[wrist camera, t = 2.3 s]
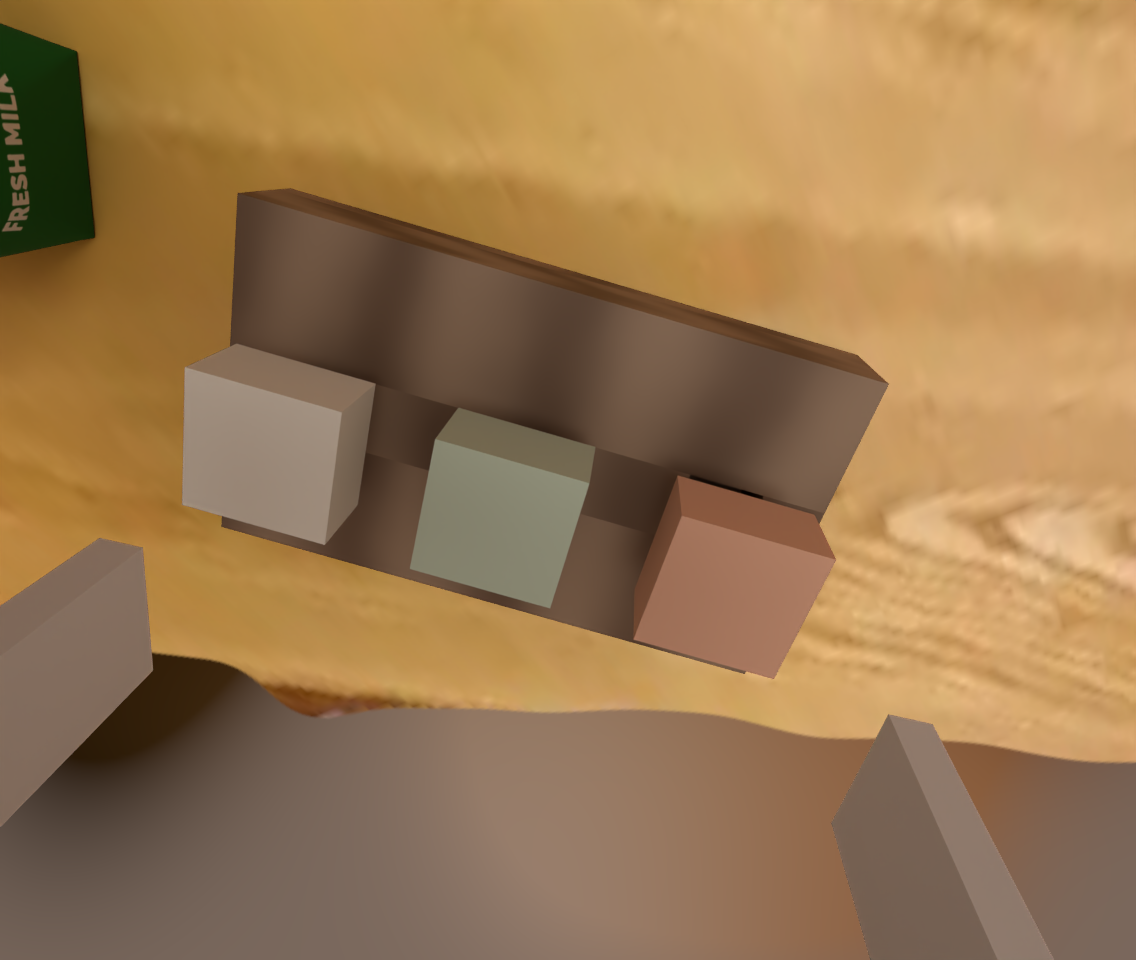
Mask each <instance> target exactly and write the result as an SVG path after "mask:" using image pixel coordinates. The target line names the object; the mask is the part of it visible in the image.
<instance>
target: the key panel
mask: <svg viewBox="0 0 1136 960" xmlns="http://www.w3.org/2000/svg"><path fill="white" fill-rule="evenodd" d="M235 344H240V345H243V346H247V347H250V348H254V349H257V350H260V351H264V352H267V353H271V354H274V355H278V356H281V357H285V358H288V359H292V360H295V361H299V362H302V363H306V364H309V365H313V366H316V367H319V368H323V369H326V370H330V371H333V372H337V373H340V374H344V375H347V376H351V377H354V378H358V379H361V380H365V381H368V382H372V383H375V384H376V385H375V392H374V399H373V405H372V412H371V419H370V426H369V432H368V439H367V446H366V452H365V459H364V466H363V473H362V479H361V486H360V493H359V500H358V505H357V506H356V508H355V509H354V510H353V511H352V513H351V514H350V515H349V516H348V517H347V519H346V520H345V521H344V522H343V524H342V525H341V526H340V527H339V528H338V530H337V531H336V532H335V533H334V534H333V536H332V537H331V538H330V539H329V541H328V542H327V543H326V544H325V545H323V544H320V543H316V542H312V541H309V540H305V539H302V538H298V537H295V536H291V535H288V534H284V533H281V532H277V531H273V530H270V529H266V528H263V527H259V526H256V525H252V524H249V523H245V522H242V521H238V520H234V519H231V518H227V517H224V516H222V525H221V527H224V528H228V529H231V530H235V531H238V532H242V533H246V534H249V535H253V536H256V537H260V538H263V539H267V540H270V541H274V542H278V543H281V544H285V545H288V546H292V547H295V548H299V549H302V550H306V551H310V552H313V553H317V554H320V555H324V556H327V557H331V558H334V559H338V560H342V561H345V562H349V563H352V564H356V565H359V566H363V567H366V568H370V569H373V570H377V571H381V572H384V573H388V574H391V575H395V576H398V577H402V578H405V579H409V580H413V581H416V582H420V583H423V584H427V585H430V586H434V587H437V588H441V589H445V590H448V591H452V592H455V593H459V594H462V595H466V596H469V597H473V598H477V599H480V600H484V601H487V602H491V603H494V604H498V605H501V606H505V607H509V608H512V609H516V610H519V611H523V612H526V613H530V614H533V615H537V616H540V617H544V618H548V619H551V620H555V621H558V622H562V623H565V624H569V625H572V626H576V627H580V628H583V629H587V630H590V631H594V632H597V633H601V634H604V635H608V636H612V637H615V638H619V639H622V640H626V641H629V642H633V643H636V644H640V645H644V646H647V647H651V648H654V649H658V650H661V651H665V652H668V653H672V654H676V655H679V656H683V657H686V658H690V659H693V660H697V661H700V662H704V663H707V664H711V665H715V666H718V667H722V668H725V669H729V670H732V671H736V672H739V673H743V674H745V672H746V671H743V670H740V669H736V668H733V667H729V666H726V665H722V664H718V663H715V662H711V661H708V660H704V659H701V658H697V657H694V656H690V655H687V654H683V653H679V652H676V651H672V650H669V649H665V648H662V647H658V646H655V645H651V644H647V643H644V642H640V641H637V640H633V637H634V590H635V587H636V584H637V582H638V579H639V576H640V574H641V571H642V568H643V566H644V563H645V560H646V558H647V555H648V552H649V550H650V547H651V545H652V542H653V539H654V537H655V534H656V531H657V529H658V526H659V523H660V521H661V518H662V515H663V513H664V510H665V507H666V505H667V502H668V499H669V497H670V494H671V492H672V489H673V486H674V484H675V481H676V478H677V476H681V477H685V478H688V479H692V480H695V481H699V482H702V483H706V484H709V485H713V486H716V487H720V488H723V489H727V490H730V491H734V492H737V493H741V494H744V495H747V496H751V497H754V498H758V499H761V500H765V501H768V502H772V503H775V504H779V505H782V506H786V507H789V508H793V509H796V510H800V511H803V512H807V513H810V514H813V515H815V517H816V519H817V521H818V523H820V521H821V519H822V517H823V515H824V513H825V511H826V509H827V507H828V505H829V503H830V501H831V499H832V497H833V495H834V493H835V491H836V489H837V487H838V485H839V483H840V481H841V479H842V477H843V475H844V473H845V471H846V469H847V467H848V465H849V463H850V461H851V459H852V457H853V455H854V453H855V451H856V449H857V447H858V445H859V443H860V441H861V439H862V437H863V435H864V433H865V431H866V429H867V427H868V425H869V423H870V421H871V419H872V417H873V415H874V413H875V411H876V409H877V407H878V405H879V403H880V401H881V399H882V397H883V395H884V393H885V391H886V389H887V387H888V385H889V384H888V383H887V382H886V381H885V380H884V379H883V378H882V377H881V376H879V375H878V374H877V373H876V372H875V371H874V370H873V369H872V368H871V367H870V366H869V365H868V364H866V363H865V362H864V361H863V360H862V359H861V358H860V357H859V356H858V355H855V354H852V353H848V352H845V351H841V350H838V349H835V348H831V347H828V346H824V345H821V344H818V343H814V342H811V341H807V340H804V339H801V338H797V337H794V336H790V335H787V334H784V333H780V332H777V331H773V330H770V329H767V328H763V327H760V326H756V325H753V324H750V323H746V322H743V321H739V320H736V319H733V318H729V317H726V316H722V315H719V314H716V313H712V312H709V311H705V310H702V309H699V308H695V307H692V306H688V305H685V304H682V303H678V302H675V301H671V300H668V299H665V298H661V297H658V296H654V295H651V294H648V293H644V292H641V291H637V290H634V289H631V288H627V287H624V286H620V285H617V284H614V283H610V282H607V281H603V280H600V279H597V278H593V277H590V276H586V275H583V274H580V273H576V272H573V271H569V270H566V269H563V268H559V267H556V266H552V265H549V264H546V263H542V262H539V261H535V260H532V259H529V258H525V257H522V256H518V255H515V254H512V253H508V252H505V251H501V250H498V249H495V248H491V247H488V246H484V245H481V244H478V243H474V242H471V241H467V240H464V239H461V238H457V237H454V236H450V235H447V234H444V233H440V232H437V231H433V230H430V229H427V228H423V227H420V226H416V225H413V224H410V223H406V222H403V221H399V220H396V219H393V218H389V217H386V216H382V215H379V214H376V213H372V212H369V211H365V210H362V209H359V208H355V207H352V206H348V205H345V204H341V203H338V202H335V201H331V200H328V199H324V198H321V197H318V196H314V195H311V194H307V193H304V192H301V191H297V190H294V189H279V190H267V191H256V192H244V193H238V196H237V217H236V237H235V258H234V279H233V299H232V320H231V340H230V346H232V345H235ZM458 408H462V409H465V410H469V411H472V412H476V413H479V414H483V415H486V416H490V417H493V418H497V419H500V420H503V421H507V422H510V423H514V424H517V425H521V426H524V427H528V428H531V429H535V430H538V431H542V432H545V433H549V434H552V435H556V436H559V437H562V438H566V439H569V440H573V441H576V442H580V443H583V444H587V445H590V446H594V447H595V453H594V459H593V465H592V471H591V477H590V483H589V487H588V490H587V493H586V496H585V499H584V502H583V506H582V509H581V512H580V515H579V518H578V521H577V525H576V528H575V531H574V534H573V537H572V540H571V544H570V547H569V550H568V553H567V556H566V559H565V563H564V566H563V569H562V572H561V575H560V579H559V582H558V585H557V588H556V591H555V594H554V598H553V601H552V604H551V607H550V608H547V607H543V606H540V605H536V604H532V603H529V602H525V601H522V600H518V599H515V598H511V597H508V596H504V595H501V594H497V593H493V592H490V591H486V590H483V589H479V588H476V587H472V586H469V585H465V584H462V583H458V582H454V581H451V580H447V579H444V578H440V577H437V576H433V575H430V574H426V573H422V572H419V571H415V570H412V569H410V565H411V560H412V555H413V550H414V545H415V539H416V534H417V529H418V524H419V519H420V514H421V509H422V504H423V499H424V494H425V489H426V483H427V478H428V473H429V468H430V463H431V458H432V453H433V448H434V443H435V439H436V437H437V436H438V435H439V433H440V432H441V431H442V429H443V428H444V427H445V425H446V424H447V422H448V421H449V420H450V418H451V417H452V416H453V414H454V413H455V412H456V410H457V409H458Z"/></svg>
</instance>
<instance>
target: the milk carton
mask: <svg viewBox="0 0 1136 960" xmlns="http://www.w3.org/2000/svg"><path fill="white" fill-rule="evenodd" d="M90 238H95V235H94V225H93V215H92V205H91V194H90V184H89V174H88V164H87V153H86V143H85V133H84V123H83V113H82V102H81V92H80V82H79V72H78V62H77V52H76V51H74V50H71V49H69V48H66V47H63V46H60V45H57V44H55V43H52V42H49V41H47V40H44V39H41V38H38V37H36V36H33V35H30V34H28V33H25V32H22V31H19V30H17V29H14V28H11V27H8V26H6V25H3V24H0V257H3V256H8V255H13V254H18V253H22V252H27V251H32V250H37V249H41V248H46V247H51V246H56V245H61V244H65V243H70V242H75V241H80V240H85V239H90Z"/></svg>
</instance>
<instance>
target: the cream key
mask: <svg viewBox="0 0 1136 960" xmlns="http://www.w3.org/2000/svg"><path fill="white" fill-rule="evenodd" d="M375 385H376V384H375V383H372V382H368V381H365V380H361V379H358V378H354V377H351V376H347V375H344V374H340V373H337V372H333V371H330V370H326V369H323V368H319V367H316V366H313V365H309V364H306V363H302V362H299V361H295V360H292V359H288V358H285V357H281V356H278V355H274V354H271V353H267V352H264V351H260V350H257V349H254V348H250V347H247V346H243V345H240V344H235V345H232V346H230V347H228V348H226V349H224V350H222V351H219V352H217V353H215V354H213V355H211V356H208V357H206V358H204V359H202V360H200V361H197V362H195V363H193V364H191V365H189V366H186V367H185V383H184V437H183V490H182V505H185V506H188V507H192V508H195V509H199V510H202V511H206V512H210V513H213V514H217V515H220V516H224V517H227V518H231V519H234V520H238V521H242V522H245V523H249V524H252V525H256V526H259V527H263V528H266V529H270V530H273V531H277V532H281V533H284V534H288V535H291V536H295V537H298V538H302V539H305V540H309V541H312V542H316V543H320V544H323V545H325V544H326V543H327V542H328V541H329V539H330V538H331V537H332V536H333V534H334V533H335V532H336V531H337V530H338V528H339V527H340V526H341V525H342V524H343V522H344V521H345V520H346V519H347V517H348V516H349V515H350V514H351V513H352V511H353V510H354V509H355V508H356V506H357V505H358V500H359V493H360V486H361V479H362V473H363V466H364V459H365V452H366V446H367V439H368V432H369V426H370V419H371V412H372V405H373V399H374V392H375Z"/></svg>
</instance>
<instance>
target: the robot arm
mask: <svg viewBox="0 0 1136 960" xmlns="http://www.w3.org/2000/svg"><path fill="white" fill-rule="evenodd" d="M152 671H153V664H152V652H151V640H150V628H149V616H148V605H147V593H146V581H145V569H144V557H143V548H142V547H138V546H133V545H129V544H124V543H120V542H115V541H111V540H106V539H102V538H99V539H97V540H96V541H95V542H93V543H92V544H90V545H89V546H87V547H86V548H84V549H83V550H81V551H80V552H78V553H77V554H76V555H74V556H73V557H71V558H70V559H68V560H67V561H65V562H64V563H62V564H61V565H59V566H58V567H57V568H55V569H54V570H52V571H51V572H49V573H48V574H46V575H45V576H43V577H42V578H40V579H39V580H38V581H36V582H35V583H33V584H32V585H30V586H29V587H27V588H26V589H24V590H23V591H21V592H20V593H19V594H17V595H16V596H14V597H13V598H11V599H10V600H8V601H7V602H5V603H4V604H2V605H1V606H0V827H1V826H2V825H3V824H4V823H5V822H6V821H7V820H8V819H9V818H10V816H11V815H13V813H14V812H15V811H16V810H17V809H18V808H19V807H20V806H21V805H22V804H23V803H24V802H25V801H26V800H27V799H28V798H29V797H30V796H31V795H32V794H33V793H34V792H35V791H36V790H37V789H38V788H39V787H40V786H41V785H42V783H44V782H45V781H46V780H47V778H49V777H50V775H51V774H52V773H53V772H54V771H55V770H56V769H57V768H58V767H59V766H60V765H61V764H62V763H63V762H64V761H65V760H66V759H67V758H68V757H69V756H70V755H71V754H72V753H73V752H74V751H75V750H76V749H77V748H78V747H79V746H80V744H82V743H83V742H84V741H85V739H87V737H88V736H89V735H90V734H91V733H92V732H93V731H94V730H95V729H96V728H97V727H98V726H99V725H100V724H101V723H102V722H103V721H104V720H105V719H106V718H107V717H108V716H109V715H110V714H111V713H112V712H113V711H114V709H116V708H117V707H118V706H119V705H120V703H121V702H122V701H123V700H124V699H125V698H126V697H127V696H128V695H129V694H130V693H131V692H132V691H133V690H134V689H135V688H136V687H137V686H138V685H139V684H140V683H141V682H142V681H143V680H144V679H145V678H146V677H147V676H148V675H149V674H150V672H152ZM831 824H832V827H833V831H834V834H835V838H836V841H837V844H838V848H839V852H840V855H841V859H842V862H843V866H844V869H845V872H846V876H847V880H848V883H849V887H850V890H851V894H852V897H853V901H854V904H855V908H856V911H857V915H858V918H859V922H860V926H861V929H862V932H863V936H864V940H865V943H866V947H867V950H868V954H869V957H870V960H1054V959H1053V957H1052V955H1051V953H1050V951H1049V949H1048V947H1047V945H1046V943H1045V942H1044V940H1043V938H1042V936H1041V934H1040V932H1039V930H1038V928H1037V926H1036V924H1035V922H1034V920H1033V918H1032V916H1031V914H1030V913H1029V910H1028V908H1027V907H1026V905H1025V903H1024V901H1023V899H1022V897H1021V895H1020V893H1019V891H1018V889H1017V887H1016V886H1015V883H1014V881H1013V879H1012V878H1011V876H1010V874H1009V872H1008V870H1007V868H1006V866H1005V864H1004V862H1003V860H1002V858H1001V856H1000V854H999V852H998V850H997V848H996V846H995V844H994V843H993V841H992V839H991V837H990V835H989V833H988V831H987V829H986V827H985V825H984V823H983V821H982V819H981V817H980V815H979V814H978V812H977V810H976V808H975V806H974V804H973V802H972V800H971V798H970V796H969V794H968V792H967V790H966V788H965V786H964V784H963V783H962V781H961V778H960V777H959V775H958V773H957V771H956V769H955V767H954V765H953V763H952V761H951V759H950V757H949V755H948V753H947V751H946V749H945V747H944V746H943V744H942V742H941V740H940V738H939V736H938V734H937V732H936V730H935V728H934V726H933V724H929V723H925V722H920V721H916V720H911V719H907V718H902V717H898V716H893V715H889V714H888V716H887V718H886V720H885V722H884V724H883V726H882V728H881V730H880V732H879V733H878V735H877V737H876V739H875V741H874V743H873V745H872V747H871V749H870V751H869V752H868V754H867V756H866V758H865V760H864V762H863V764H862V766H861V768H860V770H859V772H858V773H857V776H856V777H855V779H854V781H853V783H852V785H851V787H850V789H849V790H848V792H847V794H846V796H845V798H844V800H843V802H842V804H841V806H840V808H839V809H838V812H837V813H836V815H835V817H834V819H833V821H832V823H831Z"/></svg>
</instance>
